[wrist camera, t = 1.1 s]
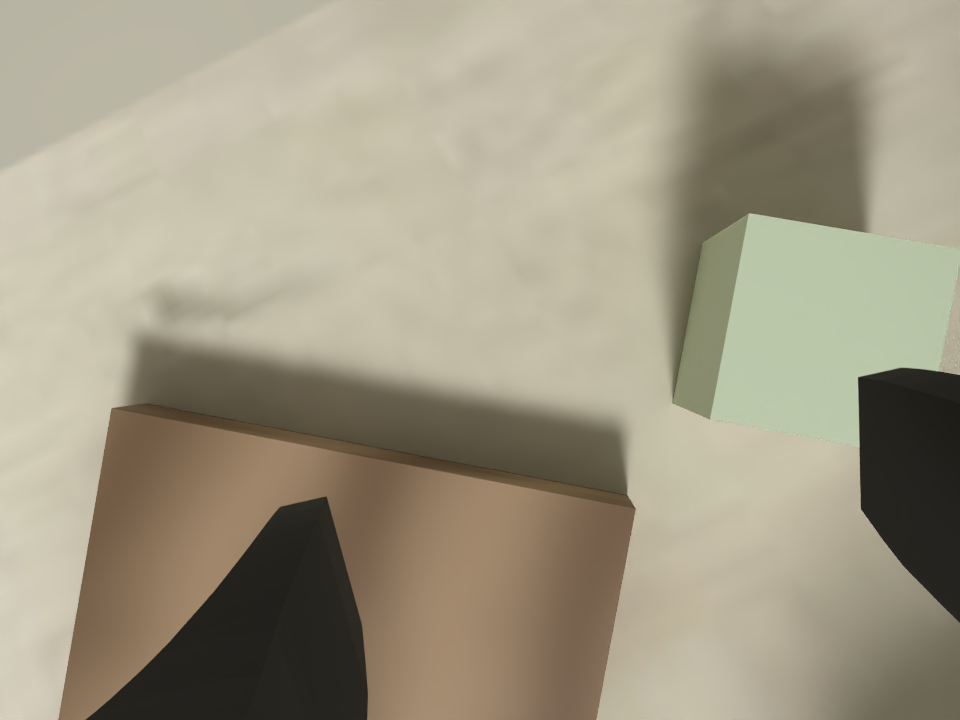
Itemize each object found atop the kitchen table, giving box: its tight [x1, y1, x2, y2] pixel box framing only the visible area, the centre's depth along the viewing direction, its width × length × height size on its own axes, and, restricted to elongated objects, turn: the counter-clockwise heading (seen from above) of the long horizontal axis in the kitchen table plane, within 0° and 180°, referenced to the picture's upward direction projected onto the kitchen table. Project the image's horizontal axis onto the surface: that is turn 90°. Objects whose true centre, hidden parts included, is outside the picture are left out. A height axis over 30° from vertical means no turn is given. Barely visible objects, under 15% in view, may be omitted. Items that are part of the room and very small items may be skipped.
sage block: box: [673, 213, 960, 447], centre depth 22 cm, size 4×4×6 cm
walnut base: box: [59, 404, 635, 720], centre depth 24 cm, size 14×14×2 cm
